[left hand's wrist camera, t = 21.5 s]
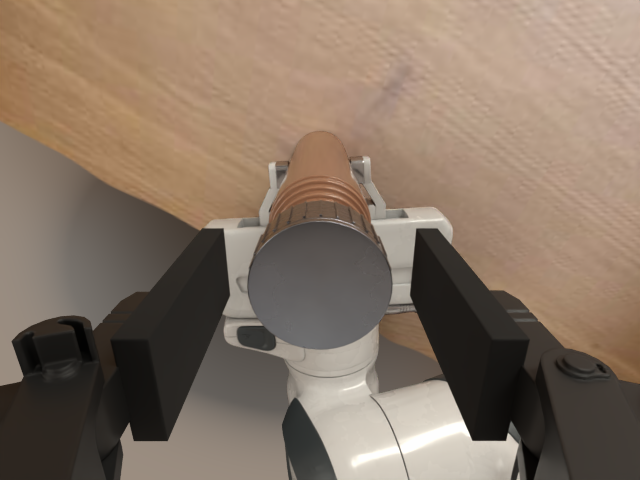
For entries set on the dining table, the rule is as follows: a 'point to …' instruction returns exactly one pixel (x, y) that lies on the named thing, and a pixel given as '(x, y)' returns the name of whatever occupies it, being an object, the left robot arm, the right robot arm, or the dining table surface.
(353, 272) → the cap
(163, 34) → the dining table surface
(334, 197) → the bottle
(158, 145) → the dining table surface
